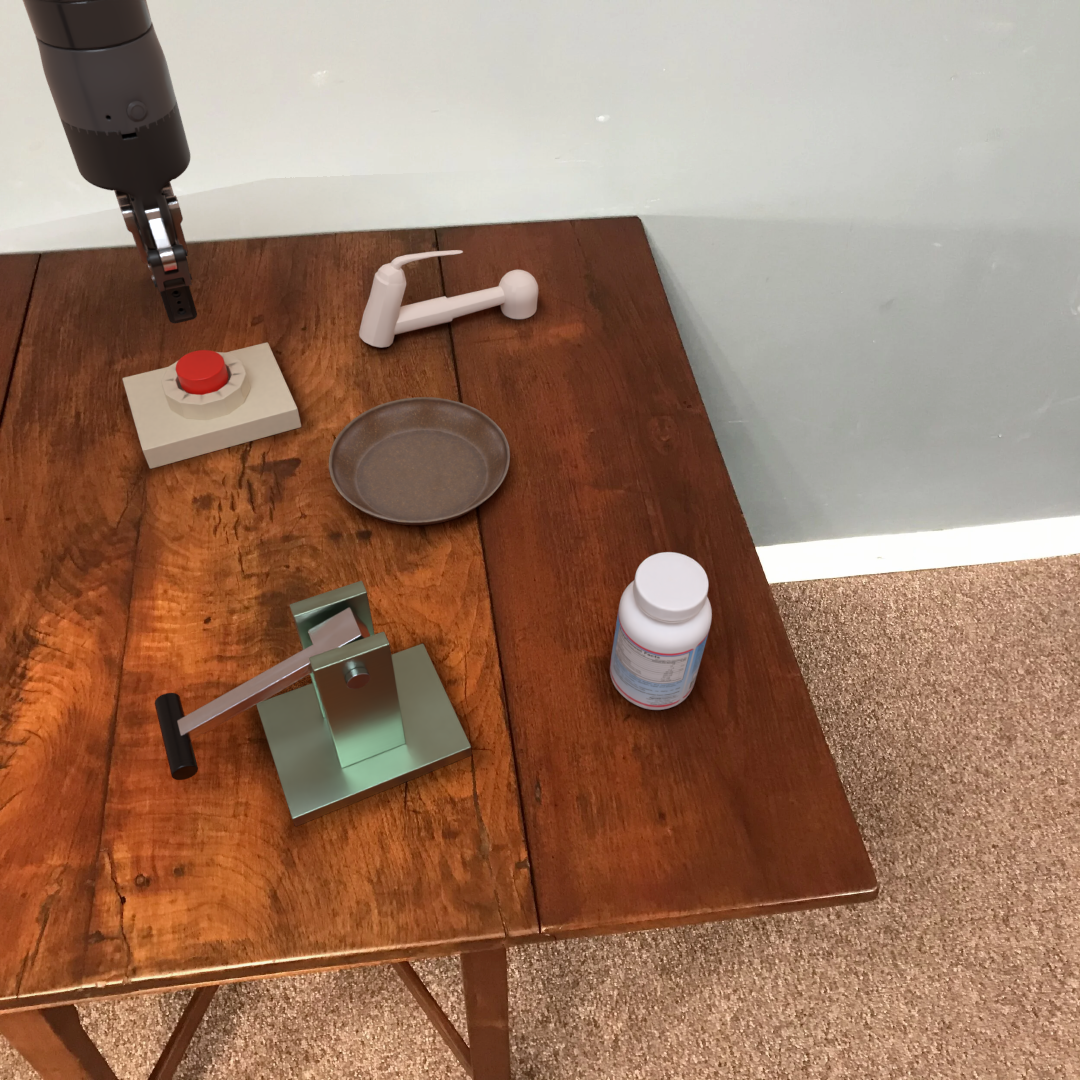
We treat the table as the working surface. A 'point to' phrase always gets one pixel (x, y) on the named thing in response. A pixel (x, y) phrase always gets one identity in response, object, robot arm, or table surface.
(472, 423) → the saucer
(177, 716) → the tap handle
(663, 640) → the pill bottle
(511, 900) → the table surface
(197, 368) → the button
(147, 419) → the button box
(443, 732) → the bracket
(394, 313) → the faucet
